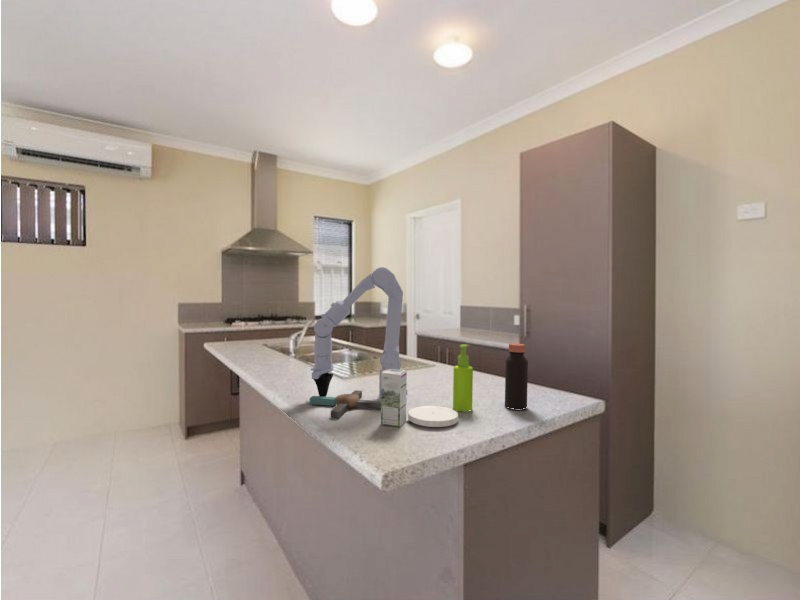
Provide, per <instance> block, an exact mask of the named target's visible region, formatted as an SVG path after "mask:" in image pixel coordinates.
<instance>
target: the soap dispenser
mask: <svg viewBox="0 0 800 600" xmlns="http://www.w3.org/2000/svg"><path fill="white" fill-rule="evenodd" d="M470 346H471V345H470V344H464V343H461V344H460V345H459V348H460V354H459V355H457V365H455V366H453V376H452V377H453V379H452V380H453V386H452V390H453V391H452V397H453V398H452V410H453V409H454V410H457V411H456V412H458V411H469V410H472V411H473V388H474V387H473V381H474V376H473V375H474V368H473V367H472V366H470V356H469V355H468V354H467V348H468V347H470Z"/></svg>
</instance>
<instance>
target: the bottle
mask: <svg viewBox="0 0 800 600" xmlns="http://www.w3.org/2000/svg"><path fill="white" fill-rule="evenodd" d="M508 353H509V356H508V357H507V358H506V359H505V373H504V374H505V377H504V379H505V381H504V382H505V383H504V407H505V406H506V407H509V408H514V409H523V408H526V407H527V408H528V380H529V379H528V377H529V376H528V375H529V374H528V372H529V367H528V366H529V361H528V359H527V358H526V357H525V353H526V345H525V344H523V343H509V344H508ZM506 407H505V408H506Z"/></svg>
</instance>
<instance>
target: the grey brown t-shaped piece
mask: <svg viewBox="0 0 800 600" xmlns="http://www.w3.org/2000/svg"><path fill="white" fill-rule="evenodd" d="M335 397H336V405H335V406H334V407H333V408H332V409H331V410H330V419H334V418H337V419H338V420H339V419H341V418H342V417H343V416H344V415H345V414H346V413H347V412H348V411H350V410H351V411H352V410H355V409H361V410H362V409H365V410H379V411H381V401H377V400H374V399H373V400H371V399H369V400H368V399H361V398H362V397H363V391H362V390H353V392H351V393H342V394H339V395H337V396H335ZM344 413H345V414H344ZM337 419H336V420H337Z"/></svg>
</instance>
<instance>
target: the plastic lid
mask: <svg viewBox="0 0 800 600" xmlns="http://www.w3.org/2000/svg"><path fill="white" fill-rule="evenodd" d="M407 412H408V413H407V417H408V419H407V420H409V421H410V422H411V423H413V424H415V425H418V426H422V427H429V428H431V427H432V428H438V427H439V428H440V427H441V428H442V427H449V426H452V425H455V424H457V423H458V422H459V413H458V411H455V410H453V408H450V407H445V406H438V405H423V406H422V405H421V406H415V407H414V408H413V407H412V408H410V409H409V411H407Z"/></svg>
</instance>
